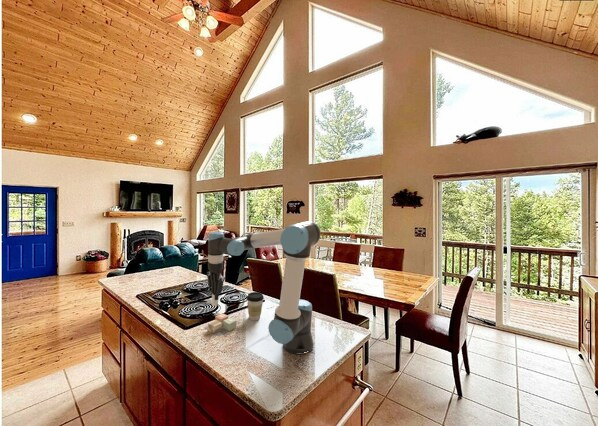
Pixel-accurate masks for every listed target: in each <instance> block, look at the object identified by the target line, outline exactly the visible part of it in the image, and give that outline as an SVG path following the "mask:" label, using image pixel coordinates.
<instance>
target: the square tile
mask: <svg viewBox="0 0 598 426" xmlns="http://www.w3.org/2000/svg"><path fill="white" fill-rule="evenodd" d="M204 329H206V330H207V331H209V330H208V325H207V326H205V327H204ZM209 332H210V331H209ZM228 332H229V331H228V330H227V329H225V328H223V325H222V330H221V331H219V332H217V333H215V334H214V335H215V336H216V337H221V336H222V335H224V334H226V333H228Z"/></svg>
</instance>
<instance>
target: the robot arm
mask: <svg viewBox="0 0 598 426" xmlns="http://www.w3.org/2000/svg"><path fill="white" fill-rule="evenodd" d="M321 236H322V234H321V228H320V227H319V225H318V224H316V223H315V222H314V221H310V220H307V221H302V222H299V223H292V224H290V225H288V226H287V227H286V228H282V229H275V230H269V231H263V232H257V233H250V234H245V235H243V236H237V237H233V238H228V237H225V233H224V232H222V231H211V232H210V233H208V239H207V240H208V242H207V243H208V244H207V245H208V247H207V249H208V253H207V261H208V262H207V269H208V270H209V271H207V272H206V278H207V284H208V285H207V287H208V291H209V292H210V293H211V306H212V307H215V306H218V305H219V295H220V294H222V292H223V288H224V282H225V280H226V277H225V276H223V273H222V271H223V269H224V254H227V255H231V256H236V257H237V256H241V255H242V254H243V252H244V251H246V250H252V249H257V248H259V249H260V248H265V247H274V246H281V248H282V250H283V251H282V253H283V255H284V256H285V263H284V268H283V269H284V270H283V275H282V277H283V278H282V283H281V290H280V297H279V298H280V299H279V304H278V306H277V307H276V308H275V310H274V315H273V316H274V318H273V319H272V320H271V321H270V322H269V323H268V327H267V329H268V333H269V335H270V337H271V338H272V340H273V341H275V342H276V343H278V344H281V345H283V348H284V349H285V350H286V351H287V350H288V351H290V352H292V353H291V354H293V353H304V352H307V351H310V350H311V349H312V348H313V349H314V344H315V343H314V339H313V335H312V316H313V315H312V314H313V305H312V303H311V302H309V300H305V299H301V298H300V297H301V290H302V285H303V281H304V280H303V279H304V274H305V273H304V271H305V268H306V267H305V266H306V260H307V259H309V258H310V257H311V250H312V247H313V246H314V245H317V244H318V242H319V241H320V239H321ZM313 349H312V350H313ZM312 350H311V351H312ZM288 351H287V352H288ZM311 351H310V352H311ZM290 352H289V353H290Z"/></svg>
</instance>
